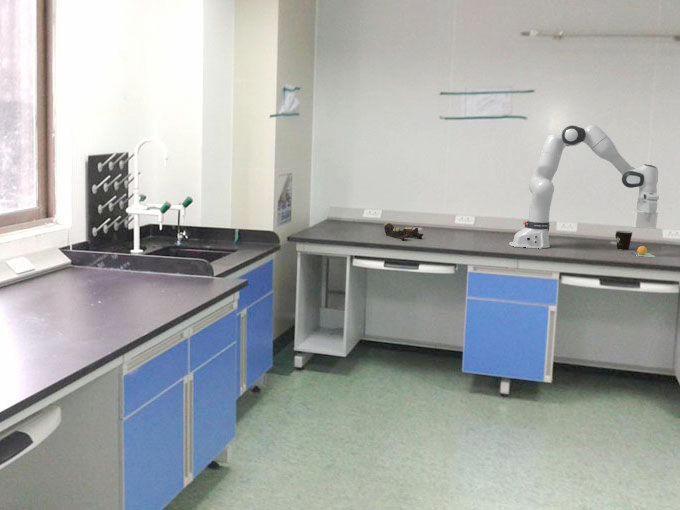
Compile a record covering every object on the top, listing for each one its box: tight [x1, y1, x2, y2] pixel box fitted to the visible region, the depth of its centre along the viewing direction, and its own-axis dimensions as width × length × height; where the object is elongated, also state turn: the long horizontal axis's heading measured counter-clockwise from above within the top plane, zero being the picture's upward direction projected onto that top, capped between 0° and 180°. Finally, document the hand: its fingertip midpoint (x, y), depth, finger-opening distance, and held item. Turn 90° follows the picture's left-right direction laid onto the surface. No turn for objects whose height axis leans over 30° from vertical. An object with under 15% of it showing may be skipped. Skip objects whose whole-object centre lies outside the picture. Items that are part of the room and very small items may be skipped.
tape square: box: [636, 253, 656, 258], centre depth 431 cm, size 10×10×1 cm
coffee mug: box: [614, 230, 633, 251], centre depth 450 cm, size 12×9×10 cm
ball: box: [636, 245, 648, 255], centre depth 431 cm, size 5×5×5 cm
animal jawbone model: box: [383, 221, 425, 242], centre depth 468 cm, size 17×25×10 cm
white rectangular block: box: [630, 209, 659, 229], centre depth 428 cm, size 11×7×9 cm, turn 88°
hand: (644, 220), depth 428 cm, fingers closed on white rectangular block, 7 cm apart
